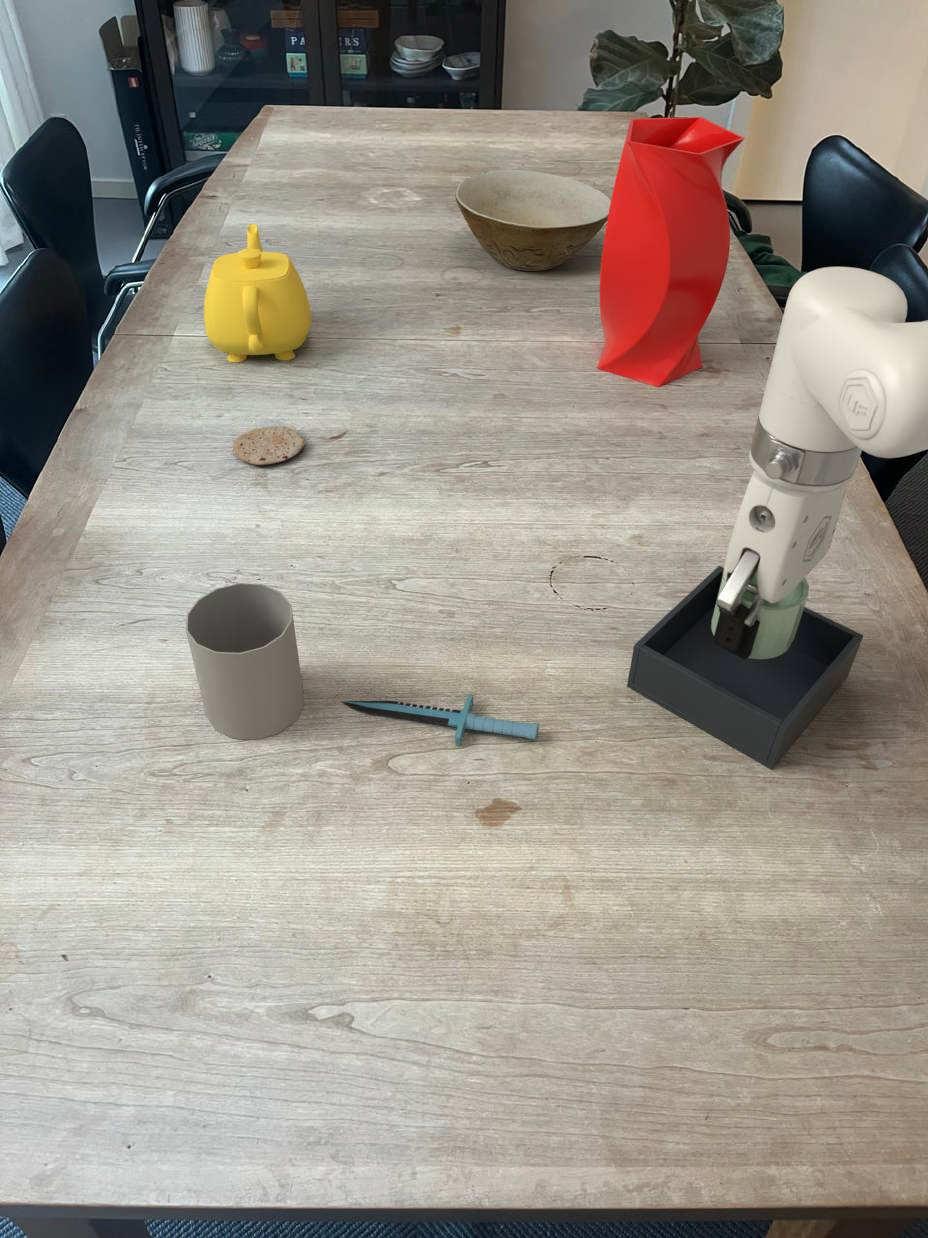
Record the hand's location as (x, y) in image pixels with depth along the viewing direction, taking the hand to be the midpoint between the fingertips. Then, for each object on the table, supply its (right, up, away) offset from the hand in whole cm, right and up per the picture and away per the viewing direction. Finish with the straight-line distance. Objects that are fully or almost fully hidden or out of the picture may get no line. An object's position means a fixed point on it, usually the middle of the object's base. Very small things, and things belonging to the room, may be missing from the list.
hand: (754, 625), depth 84 cm
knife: (-27, -8, +1) cm, 28 cm away
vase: (0, +35, +48) cm, 59 cm away
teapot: (-52, +38, +50) cm, 82 cm away
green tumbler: (0, -1, +1) cm, 1 cm away
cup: (-42, -7, +2) cm, 43 cm away
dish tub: (0, -5, +5) cm, 7 cm away
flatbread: (-47, +20, +31) cm, 59 cm away
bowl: (-14, +57, +72) cm, 92 cm away
